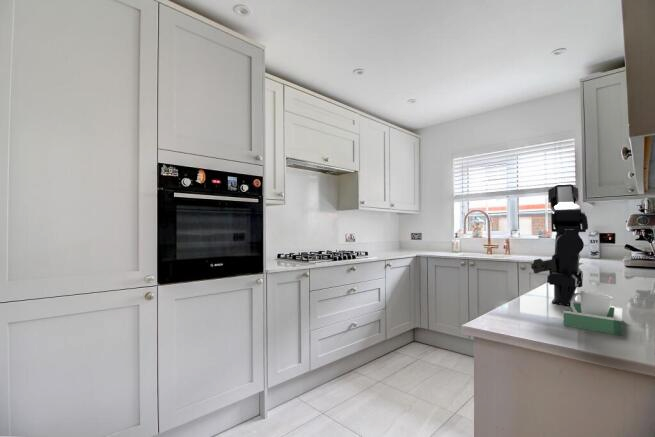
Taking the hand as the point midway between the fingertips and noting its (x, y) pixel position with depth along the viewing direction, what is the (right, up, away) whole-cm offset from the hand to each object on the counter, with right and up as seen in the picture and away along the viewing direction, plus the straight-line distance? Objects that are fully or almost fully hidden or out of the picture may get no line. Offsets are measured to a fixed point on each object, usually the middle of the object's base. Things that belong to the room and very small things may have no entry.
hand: (564, 305), depth 93 cm
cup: (+3, -3, -4) cm, 6 cm away
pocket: (+4, -4, -4) cm, 7 cm away
